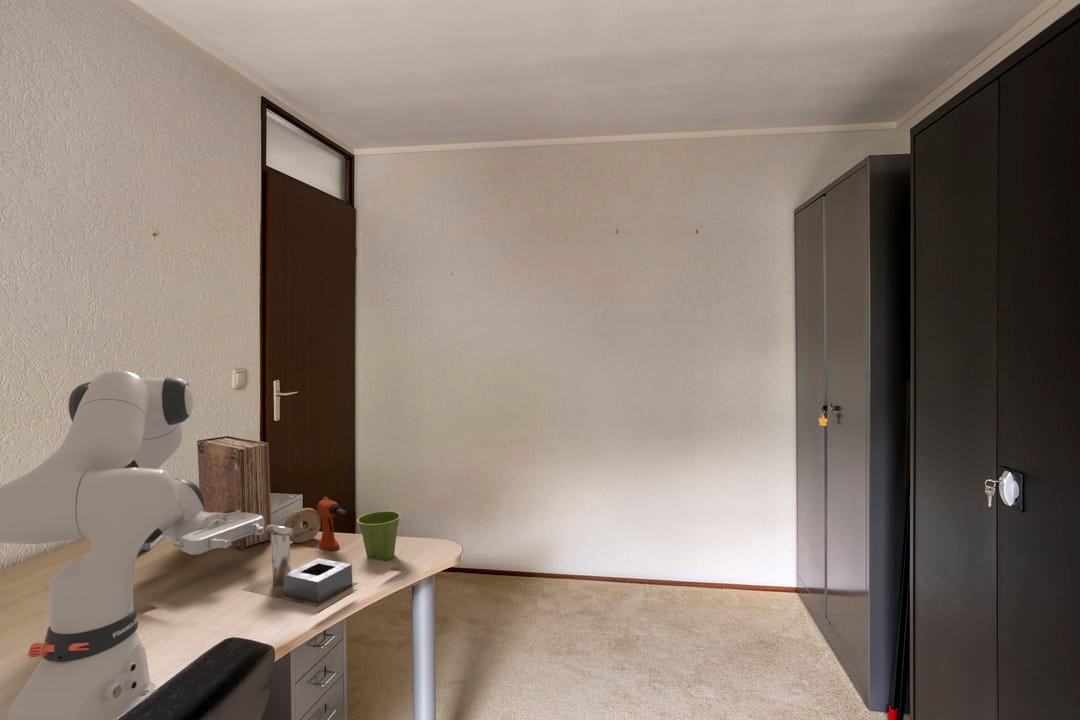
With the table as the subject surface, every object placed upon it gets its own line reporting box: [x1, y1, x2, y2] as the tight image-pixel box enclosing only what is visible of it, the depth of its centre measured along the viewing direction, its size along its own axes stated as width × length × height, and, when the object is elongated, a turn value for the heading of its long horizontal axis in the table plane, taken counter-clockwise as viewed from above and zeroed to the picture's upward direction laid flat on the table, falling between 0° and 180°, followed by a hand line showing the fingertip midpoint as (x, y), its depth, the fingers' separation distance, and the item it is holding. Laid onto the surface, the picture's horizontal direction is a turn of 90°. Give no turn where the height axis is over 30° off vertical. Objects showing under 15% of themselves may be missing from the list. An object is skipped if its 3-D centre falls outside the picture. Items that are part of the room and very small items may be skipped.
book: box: [196, 435, 273, 551], centre depth 174 cm, size 25×9×30 cm, turn 54°
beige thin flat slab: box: [241, 568, 359, 614], centre depth 136 cm, size 24×13×2 cm, turn 66°
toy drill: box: [316, 496, 347, 552], centre depth 161 cm, size 5×19×15 cm, turn 40°
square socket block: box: [283, 557, 353, 604], centre depth 133 cm, size 11×11×5 cm
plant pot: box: [356, 510, 402, 562], centre depth 157 cm, size 12×12×11 cm
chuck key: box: [266, 524, 294, 586], centre depth 138 cm, size 8×4×14 cm, turn 66°
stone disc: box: [284, 507, 322, 544], centre depth 170 cm, size 10×4×10 cm, turn 135°
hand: (245, 537), depth 143 cm, fingers open, 8 cm apart
